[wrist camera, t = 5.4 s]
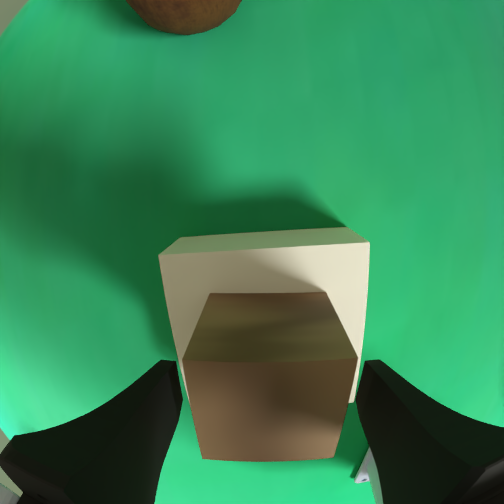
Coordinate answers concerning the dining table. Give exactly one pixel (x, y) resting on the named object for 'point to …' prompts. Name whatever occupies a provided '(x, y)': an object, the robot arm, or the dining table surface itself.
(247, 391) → the walnut cube
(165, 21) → the wooden figurine
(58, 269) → the dining table surface
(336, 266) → the cream base block
